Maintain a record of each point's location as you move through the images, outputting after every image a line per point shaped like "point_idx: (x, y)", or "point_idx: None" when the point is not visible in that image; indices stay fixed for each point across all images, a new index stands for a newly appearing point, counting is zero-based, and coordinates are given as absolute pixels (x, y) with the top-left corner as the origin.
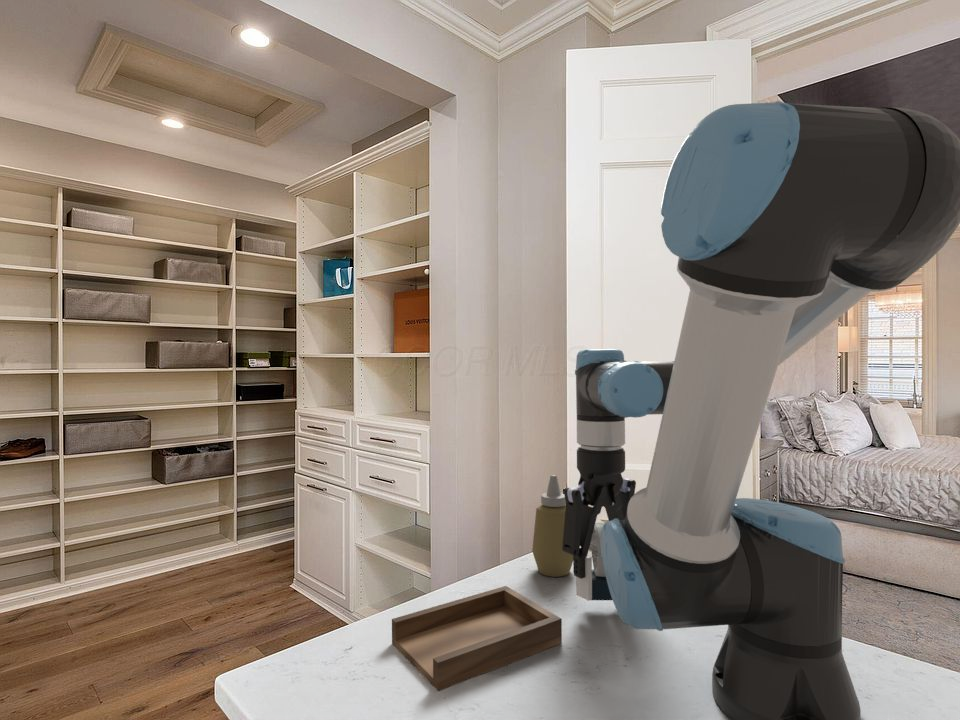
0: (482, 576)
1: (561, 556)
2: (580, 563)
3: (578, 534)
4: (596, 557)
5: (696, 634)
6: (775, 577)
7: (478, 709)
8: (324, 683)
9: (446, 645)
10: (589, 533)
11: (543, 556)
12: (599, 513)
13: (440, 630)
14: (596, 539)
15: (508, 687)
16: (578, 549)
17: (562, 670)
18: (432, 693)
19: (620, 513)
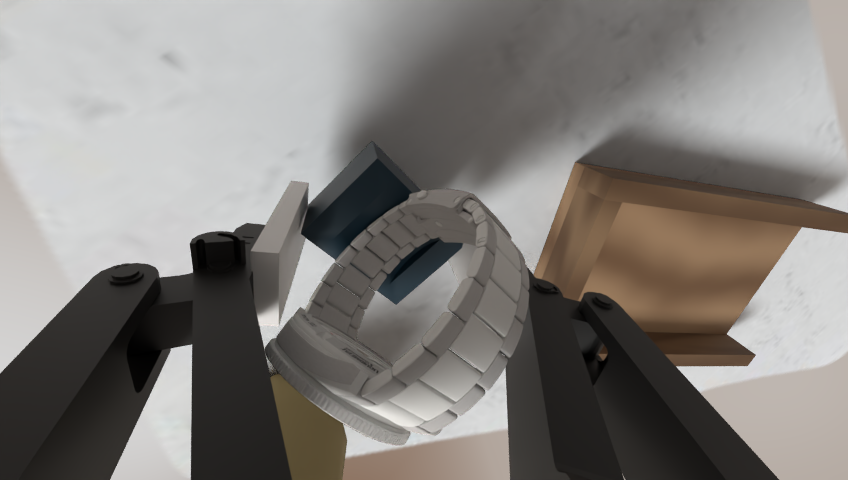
0: (435, 438)
1: (307, 414)
2: (530, 276)
3: (648, 363)
4: (349, 312)
5: None
6: None
7: (831, 117)
8: (819, 305)
9: (712, 280)
10: (563, 355)
11: (343, 434)
12: (566, 475)
13: (673, 321)
14: (374, 360)
15: (760, 126)
16: (595, 307)
17: (670, 87)
18: (807, 200)
19: (228, 452)
